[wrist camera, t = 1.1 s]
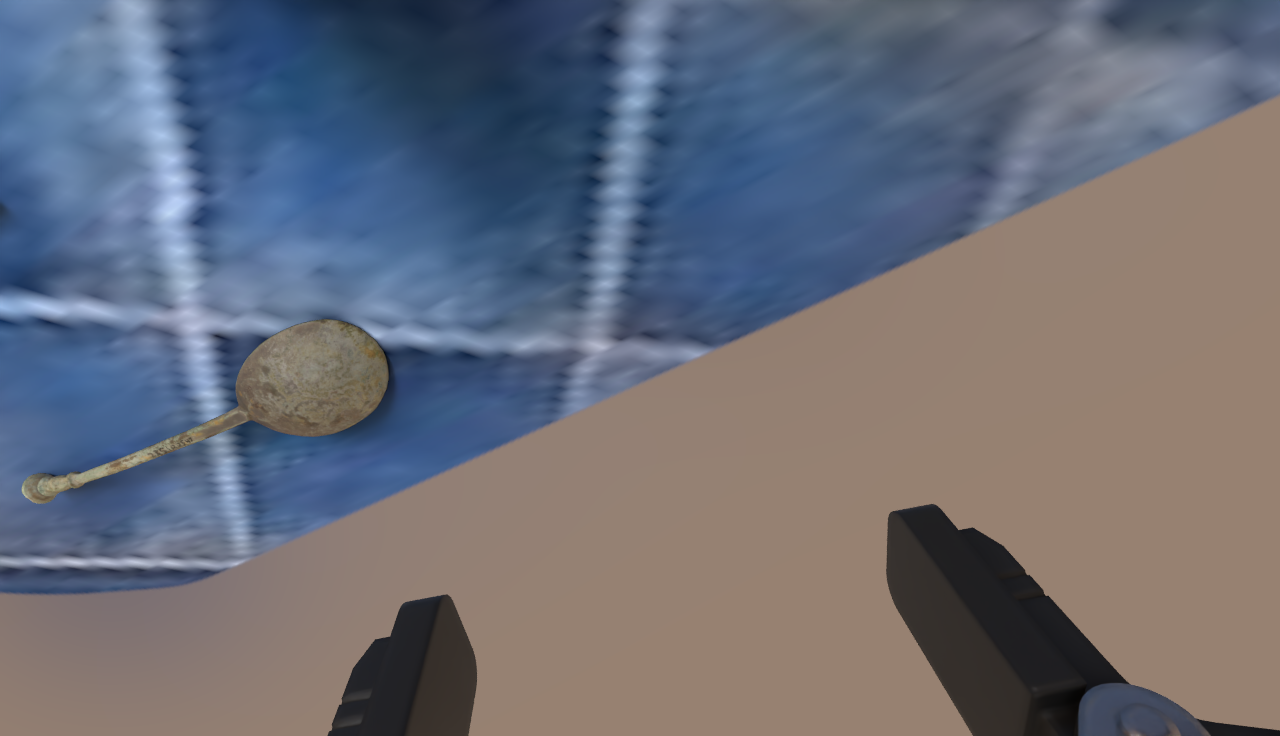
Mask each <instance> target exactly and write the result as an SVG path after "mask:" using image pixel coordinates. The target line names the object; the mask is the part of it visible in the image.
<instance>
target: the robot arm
mask: <svg viewBox="0 0 1280 736" xmlns="http://www.w3.org/2000/svg"><path fill="white" fill-rule="evenodd" d="M887 537H888V538H887V569H886V572H887V573H886V574H887V582H888V586H889V590H890V593H891V596H892V599H893V601H894V604H895V606H896V608H897V609H898V611H899V613H900V615H901V616H902V618H903V620H904V621H905V623H906V625H907V626H908V628H909V630H910V631H911V633H912V635H913V636H914V638H915V640H916V641H917V643H918V645H919V646H920V648H921V650H922V651H923V653H924V655H925V656H926V658H927V660H928V661H929V663H930V665H931V666H932V668H933V670H934V671H935V673H936V675H937V676H938V678H939V680H940V681H941V683H942V685H943V686H944V688H945V690H946V691H947V693H948V695H949V696H950V698H951V700H952V701H953V703H954V705H955V706H956V708H957V710H958V711H959V713H960V715H961V716H962V718H963V720H964V721H965V723H966V725H967V726H968V728H969V730H970V731H971V733H972V735H973V736H1280V731H1279V730H1272V729H1263V728H1254V727H1247V726H1239V725H1230V724H1223V723H1215V722H1209V721H1203V720H1199V719H1196V718H1194V717H1193V716H1192V715H1191V714H1190V713H1189V712H1187V711H1186V710H1185V709H1183V708H1182V707H1180V706H1179V705H1178V704H1176V703H1174V702H1173V701H1171V700H1169V699H1168V698H1166V697H1164V696H1162V695H1160V694H1158V693H1156V692H1153V691H1150V690H1148V689H1145V688H1142V687H1138V686H1135V685H1131V684H1129V683H1128V682H1127V681H1126V680H1125V679H1124V678H1123V677H1122V676H1121V675H1120V674H1119V673H1118V672H1117V671H1116V670H1115V669H1114V668H1113V666H1112V665H1111V664H1110V663H1109V662H1108V661H1107V660H1106V659H1105V658H1104V657H1103V655H1102V654H1101V653H1100V652H1099V651H1098V650H1097V649H1096V648H1095V647H1094V646H1093V644H1092V643H1091V642H1090V641H1089V640H1088V639H1087V638H1086V637H1085V636H1084V634H1083V633H1081V631H1080V630H1079V629H1078V628H1077V627H1076V626H1075V625H1074V623H1073V622H1072V621H1071V620H1070V619H1069V618H1068V617H1067V616H1066V615H1065V614H1064V612H1063V611H1062V610H1061V609H1060V608H1059V607H1058V606H1057V605H1056V604H1055V603H1054V601H1053V600H1052V599H1051V598H1050V597H1049V596H1045V594H1044V592H1043V589H1042V588H1041V587H1040V586H1039V585H1038V584H1037V583H1036V582H1035V581H1034V579H1033V578H1032V577H1031V576H1030V575H1027V574H1026V573H1025V570H1024V568H1023V567H1022V566H1021V565H1020V564H1019V563H1018V562H1017V561H1016V560H1015V558H1013V556H1012V555H1011V554H1010V553H1009V552H1008V551H1007V550H1006V549H1005V548H1004V546H1002V545H1001V544H999V543H997V542H996V541H994V540H993V539H991V538H989V537H988V536H986V535H984V534H983V533H981V532H979V531H977V530H976V529H974V528H968V529H963V530H958V529H957V528H956V527H955V525H954V524H953V523H952V522H951V521H950V519H949V518H948V517H947V516H946V515H945V513H944V512H943V511H942V510H941V509H940V508H939V507H938V506H936V505H934V504H930V505H924V506H919V507H914V508H909V509H903V510H898V511H893V512H891V513H890V514H889V517H888V536H887ZM476 685H477V668H476V660H475V655H474V651H473V648H472V646H471V644H470V641H469V639H468V636H467V634H466V632H465V629H464V627H463V625H462V622H461V620H460V617H459V615H458V612H457V610H456V608H455V605H454V603H453V601H452V599H451V597H450V596H448V595H441V596H436V597H430V598H425V599H420V600H415V601H409V602H405V603H404V604H403V605H402V606H401V608H400V610H399V612H398V615H397V618H396V621H395V624H394V627H393V630H392V633H391V636H390V637H386V638H381V639H375V641H374V642H373V643H372V644H371V646H370V647H369V648H368V650H367V651H366V652H365V654H364V655H363V656H362V657H361V659H360V660H359V661H358V663H357V664H356V665H355V667H354V668H353V670H352V673H351V676H350V678H349V681H348V684H347V686H346V689H345V692H344V694H343V697H342V705H339V707H338V710H337V713H336V715H335V718H334V720H333V723H332V731H329V733H328V736H468V734H469V728H470V722H471V716H472V710H473V704H474V698H475V692H476Z"/></svg>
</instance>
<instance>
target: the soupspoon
mask: <svg viewBox="0 0 1280 736" xmlns="http://www.w3.org/2000/svg"><path fill="white" fill-rule="evenodd" d="M388 381H389V375H388V365H387V361H386V356H385V355H384V352H383V350H382V349H381V348H380V346H379V345H378V344H377V342H376V341H375V340H374V339H373V338H371V337H370V336H368V335H367V333H366V332H365V331H362V330H361V329H360V328H357V327H356V326H353V325H352V324H349V323H346V322H343V321H339V320H330V319H322V320H316V321H309V322H305V323H301V324H298V325H294V326H292V327H290V328H287V329H285V330H283V331H281V332H279V333H277V334H275V335H273V336H272V337H270V338H269V339H267V340H266V341H264V342H263V343H261V344H260V345H259V346H258V347H257V348H256V349H255V350H254V351H253V352H252V353H251V355H250V356H249V357H248V358H247V359H246V361H245V362H244V364H243V366H242V368H241V370H240V372H239V374H238V378H237V382H236V396H237V400H238V404H239V406H238V407H237V408H234V409H233V410H231V411H229V412H227V413H226V414H223V415H221V416H219V417H217V418H214V419H212V420H210V421H208V422H206V423H203V424H202V425H199V426H197V427H194V428H192V429H190V430H188V431H186V432H183V433H181V434H178V435H176V436H174V437H171V438H168V439H166V440H164V441H161V442H159V443H157V444H154V445H152V446H149V447H147V448H145V449H142V450H140V451H137V452H135V453H133V454H130V455H127V456H125V457H123V458H120V459H117V460H115V461H112V462H109V463H107V464H104V465H101V466H99V467H95V468H93V469H90V470H88V471H86V472H83V473H81V472H76V471H75V472H71V473H69V474H68V475H59V476H56V477H53V476H52V475H49V474H46V473H37V474H35V475H34V474H33V475H31V476H29V477H28V478H27V479H26V480H25V481H24V482H23V485H22V493H23V494H24V495H25V497H26V498H27V499H30V500H31V501H32V502H34V503H38V504H40V503H47V502H50V501H51V500H53V499H54V498H55V497H56V495H57V494H58V493H59V492H62V491H66V490H68V489H70V488H78V487H81V486H82V485H84V483H86V482H89V481H93V480H96V479H99V478H102V477H105V476H108V475H111V474H114V473H117V472H120V471H123V470H126V469H128V468H131V467H134V466H136V465H139V464H141V463H144V462H147V461H149V460H152V459H155V458H157V457H160V456H162V455H165V454H167V453H170V452H172V451H175V450H177V449H180V448H183V447H186V446H188V445H191V444H194V443H196V442H199V441H202V440H205V439H207V438H209V437H212V436H214V435H217V434H219V433H222V432H224V431H226V430H229V429H231V428H233V427H236V426H238V425H240V424H243V423H245V422H247V421H251V420H253V421H256V422H258V423H260V424H262V425H264V426H266V427H268V428H270V429H272V430H275V431H278V432H282V433H286V434H291V435H299V436H309V437H311V436H323V435H329V434H333V433H337V432H339V431H342V430H345V429H347V428H349V427H351V426H353V425H355V424H356V423H358V422H359V421H361V420H363V419H364V418H365V417H367V416H368V415H369V414H371V413H372V412H373V411H374V410H375V409H376V408H377V406H378V405H379V403H380V401H381V400H382V397H383V396H384V393H385V391H386V389H387V384H388Z"/></svg>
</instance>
